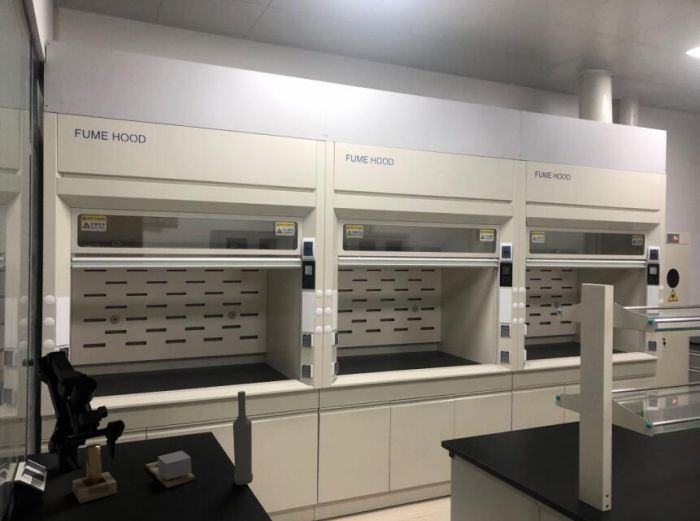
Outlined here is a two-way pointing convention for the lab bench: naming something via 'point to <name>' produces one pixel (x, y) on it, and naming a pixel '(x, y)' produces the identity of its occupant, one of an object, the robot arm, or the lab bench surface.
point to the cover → (174, 465)
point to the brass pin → (93, 464)
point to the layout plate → (170, 482)
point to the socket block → (94, 488)
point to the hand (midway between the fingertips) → (95, 463)
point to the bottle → (242, 444)
